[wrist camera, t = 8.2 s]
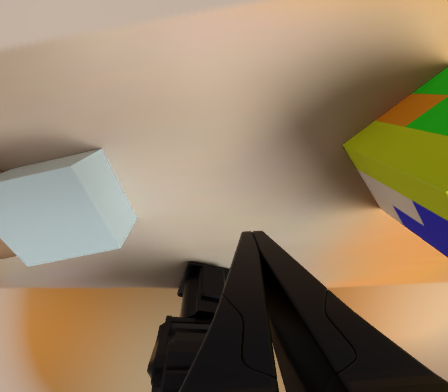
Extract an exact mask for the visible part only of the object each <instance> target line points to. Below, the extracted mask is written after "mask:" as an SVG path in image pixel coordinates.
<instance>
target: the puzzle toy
mask: <svg viewBox="0 0 448 392" xmlns="http://www.w3.org/2000/svg"><path fill="white" fill-rule="evenodd" d="M343 147H344V148H345V150H346V152H347V153H348V155H349V157H350V158H351V160H352V162H353V163H354V165H355V167H356V168H357V170H358V172H359V174H360V175H361V177H362V179H363V180H364V182H365V184H366V185H367V187H368V189H369V190H370V192H371V194H372V195H373V197H374V199H375V200H376V202H377V204H378V205H379V207H380V209H382V210H383V211H385V212H386V213H387V214H389V215H390V216H391V217H393V218H394V219H396V220H397V221H398V222H400V223H401V224H402V225H404V226H405V227H407V228H408V229H409V230H411V231H412V232H413V233H415V234H416V235H418V236H419V237H420V238H422V239H423V240H424V241H426V242H427V243H429V244H430V245H431V246H433V247H434V248H435V249H437V250H438V251H440V252H441V253H442V254H444V255H445V256H446V257H448V67H447V68H446V69H444V70H443V71H442V72H440V73H439V74H437V75H436V76H435V77H433V78H432V79H431V80H429V81H428V82H427V83H425V84H424V85H423V86H421V87H420V88H419V89H417V90H416V91H415V92H413V93H412V94H410V95H409V96H408V97H406V98H405V99H404V100H402V101H401V102H400V103H398V104H397V105H396V106H394V107H393V108H392V109H390V110H389V111H388V112H386V113H385V114H384V115H382V116H381V117H379V118H378V119H377V120H375V121H374V122H373V123H371V124H370V125H369V126H367V127H366V128H365V129H363V130H362V131H361V132H359V133H358V134H357V135H355V136H354V137H353V138H351V139H350V140H348V141H347V142H346V143H344V144H343Z"/></svg>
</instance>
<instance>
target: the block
mask: <svg viewBox="0 0 448 392" xmlns="http://www.w3.org/2000/svg"><path fill="white" fill-rule="evenodd" d="M136 220H137V216H136V214H135V212H134V210H133V208H132V206H131V204H130V202H129V200H128V198H127V196H126V194H125V192H124V190H123V188H122V186H121V184H120V182H119V180H118V178H117V176H116V174H115V172H114V170H113V168H112V167H111V165H110V163H109V161H108V159H107V157H106V155H105V153H104V151H103V149H102V148H101V149H97V150H93V151H88V152H84V153H79V154H75V155H70V156H66V157H62V158H57V159H53V160H48V161H44V162H40V163H35V164H31V165H26V166H22V167H18V168H13V169H10V170H8V171H5V172H3V173H0V238H1V240H2V241H3V242H4V243H5V244H6V245H7V246H8V247H9V248H10V249H11V250H12V251H13V252H14V253H15V254H16V255H17V256H18V257H19V258H20V259H21V260H22V261H23V263H24V264H25V265H26V266H27V267H29V266H34V265H40V264H45V263H50V262H55V261H60V260H65V259H70V258H75V257H80V256H85V255H90V254H95V253H100V252H105V251H110V250H115V249H120V248H121V246H122V245H123V243H124V241H125V239H126V238H127V236H128V234H129V232H130V231H131V229H132V227H133V225H134V224H135V222H136Z"/></svg>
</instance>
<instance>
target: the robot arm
mask: <svg viewBox="0 0 448 392" xmlns="http://www.w3.org/2000/svg"><path fill="white" fill-rule="evenodd" d="M178 296H180V297H183V299H182V305H181V313H180V317H172V316H167V317H166V321H165V323H163V324H162V325H160V327H159V331H158V336H157V340H156V344H155V347H154V350H153V353H152V356H151V359H150V361H149V365H148V369H147V372H148V374H149V376H150V378H151V385H152V392H279V389H278V382H277V375H276V368H275V360H274V353H273V346H274V350H275V354H276V357H277V361H278V365H279V368H280V371H281V375H282V379H283V382H284V385H285V390H286V392H448V382H447V381H446V380H444V379H442V378H441V377H440V376H438V375H436V374H435V373H434V372H432V371H431V370H430V369H428V368H427V367H426V366H424V365H423V364H421V363H420V362H419V361H418V360H416V359H415V358H414V357H412V356H411V355H410V354H408V353H407V352H406V351H404V350H403V349H402V348H401V347H399V346H398V345H397V344H395V343H394V342H393V341H391V340H390V339H389V338H387V337H386V336H385V335H383V334H382V333H381V332H380V331H378V330H377V329H376V328H374V327H373V326H371V325H370V324H369V323H368V322H366V321H365V320H364V319H363V318H362V317H360V316H359V315H358V314H357V313H355V312H354V311H353V310H352V309H350V308H349V307H348V306H347V305H346V304H345V303H343V302H342V301H341V300H340V299H339V298H337V297H336V296H335V295H334V294H333V293H332V292H331V291H330V290H327V288H326V287H325V286H324V285H323V284H322V283H321V282H319V281H318V280H317V279H316V278H315V277H314V276H313V275H312V274H310V273H309V272H308V271H307V270H306V269H305V268H304V267H303V266H301V265H300V264H299V263H298V262H297V261H296V260H295V259H294V258H292V257H291V256H290V255H289V254H288V253H287V252H286V251H285V250H283V249H282V248H281V247H280V246H279V245H278V244H277V243H276V242H274V241H273V240H272V239H271V238H270V237H269V236H268V235H267V234H265V233H264V232H263V231H253V232H251V231H245V232H242V233H241V236H240V240H239V243H238V246H237V249H236V252H235V255H234V258H233V261H232V264H231V267H230V270H229V269H225V268H220V267H215V266H210V265H205V264H200V263H195V262H189V263H188V264H187V267H186V270H185V273H184V275H183V278H182V281H181V284H180V287H179V290H178ZM272 343H273V346H272Z"/></svg>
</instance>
